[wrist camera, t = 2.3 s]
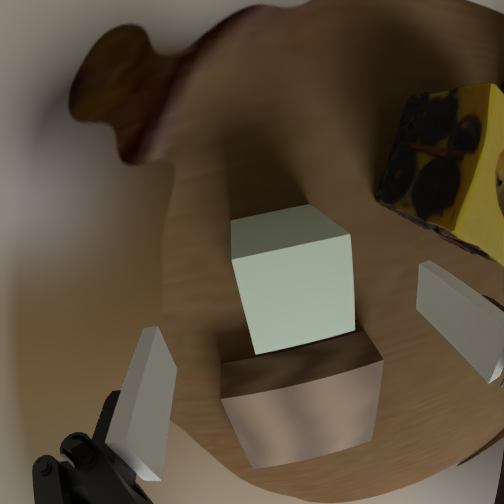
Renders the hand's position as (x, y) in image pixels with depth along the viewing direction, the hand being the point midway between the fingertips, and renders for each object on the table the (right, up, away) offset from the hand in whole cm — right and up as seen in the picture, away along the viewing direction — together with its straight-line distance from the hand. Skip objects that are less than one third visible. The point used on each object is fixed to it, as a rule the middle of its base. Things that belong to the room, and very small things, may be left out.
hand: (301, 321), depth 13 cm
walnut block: (+3, -12, +16) cm, 20 cm away
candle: (+14, +10, +8) cm, 19 cm away
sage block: (0, +3, +9) cm, 10 cm away
